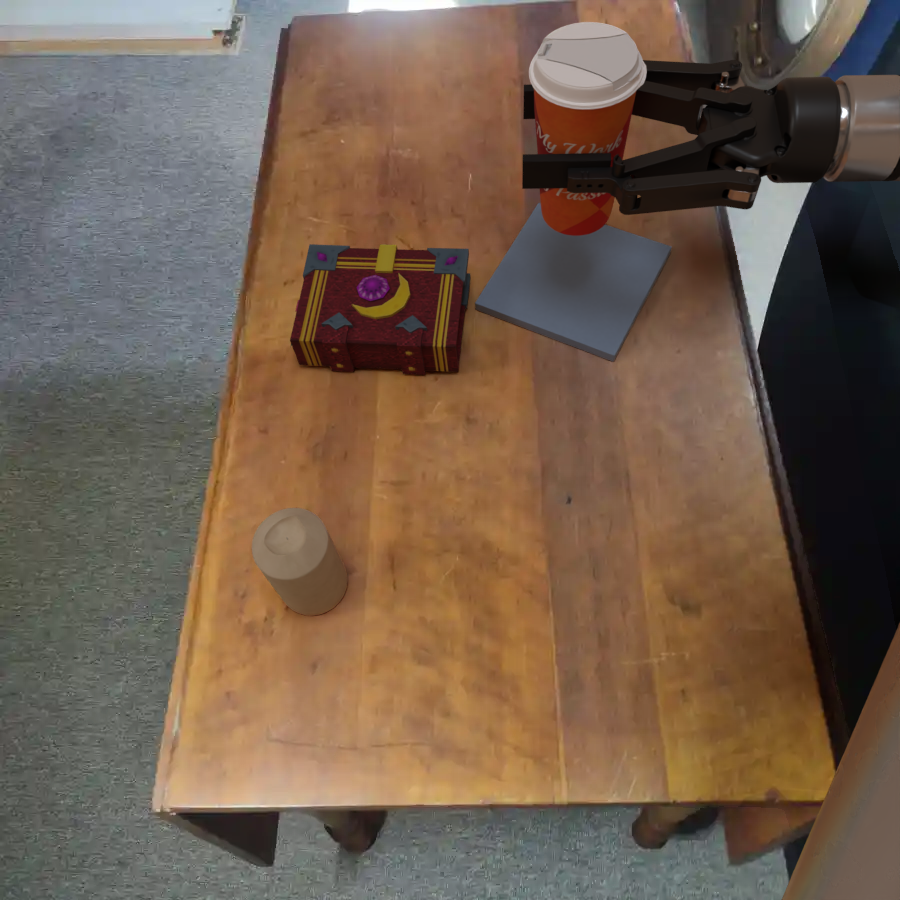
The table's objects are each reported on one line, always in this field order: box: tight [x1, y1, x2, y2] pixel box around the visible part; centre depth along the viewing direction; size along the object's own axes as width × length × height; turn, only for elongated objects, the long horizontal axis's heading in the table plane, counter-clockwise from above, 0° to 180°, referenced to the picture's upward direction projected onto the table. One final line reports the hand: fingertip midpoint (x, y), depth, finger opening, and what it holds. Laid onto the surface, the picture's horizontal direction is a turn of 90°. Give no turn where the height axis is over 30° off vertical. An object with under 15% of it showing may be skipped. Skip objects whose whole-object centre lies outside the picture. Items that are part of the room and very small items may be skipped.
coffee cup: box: [528, 21, 647, 236], centre depth 66 cm, size 8×8×15 cm
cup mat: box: [474, 202, 673, 363], centre depth 80 cm, size 14×14×1 cm
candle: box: [251, 507, 348, 617], centre depth 63 cm, size 6×6×10 cm
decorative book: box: [289, 243, 472, 376], centre depth 78 cm, size 11×16×5 cm
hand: (523, 136), depth 66 cm, fingers closed on coffee cup, 7 cm apart
